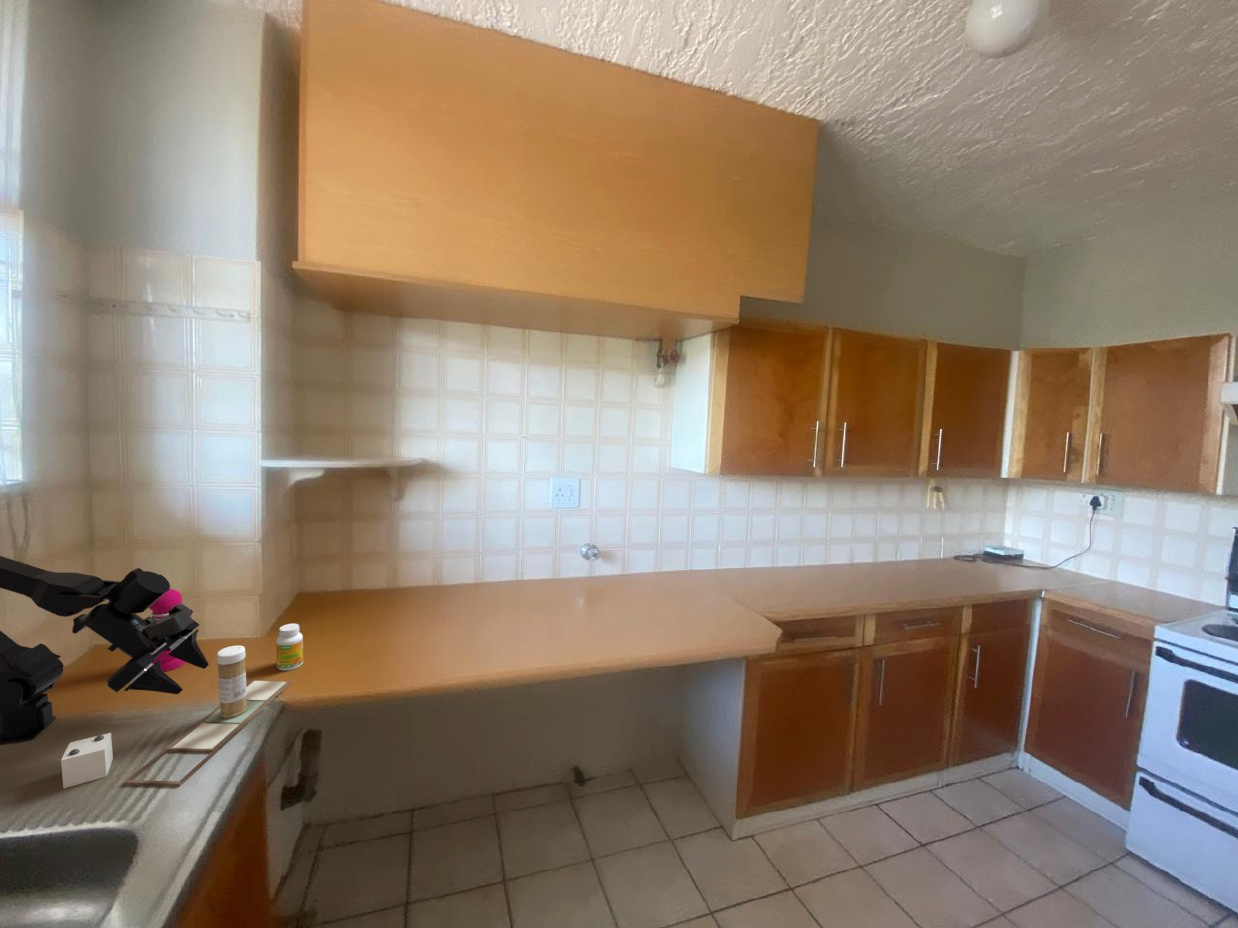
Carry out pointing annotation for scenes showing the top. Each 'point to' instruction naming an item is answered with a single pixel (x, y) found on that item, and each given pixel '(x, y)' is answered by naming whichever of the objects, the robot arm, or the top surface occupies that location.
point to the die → (87, 760)
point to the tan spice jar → (232, 681)
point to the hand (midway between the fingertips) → (194, 678)
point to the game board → (215, 730)
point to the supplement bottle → (289, 647)
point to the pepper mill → (161, 611)
